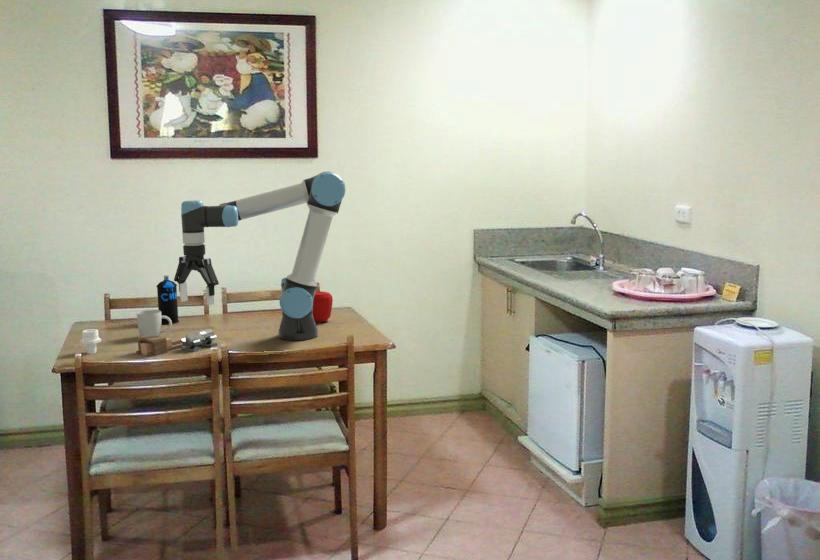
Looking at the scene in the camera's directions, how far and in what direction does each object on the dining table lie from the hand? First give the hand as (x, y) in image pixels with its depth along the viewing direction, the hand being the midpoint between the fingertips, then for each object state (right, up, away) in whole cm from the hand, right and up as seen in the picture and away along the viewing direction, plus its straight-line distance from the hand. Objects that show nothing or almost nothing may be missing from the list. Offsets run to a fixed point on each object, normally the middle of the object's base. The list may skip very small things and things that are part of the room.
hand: (197, 303), depth 281 cm
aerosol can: (-24, -10, +46) cm, 53 cm away
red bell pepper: (+39, -9, +47) cm, 62 cm away
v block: (0, -16, +3) cm, 17 cm away
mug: (-21, -14, +20) cm, 32 cm away
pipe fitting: (-36, -18, -4) cm, 41 cm away
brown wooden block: (-14, -17, -3) cm, 22 cm away
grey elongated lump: (0, -14, +3) cm, 14 cm away
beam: (-11, -17, +1) cm, 20 cm away
